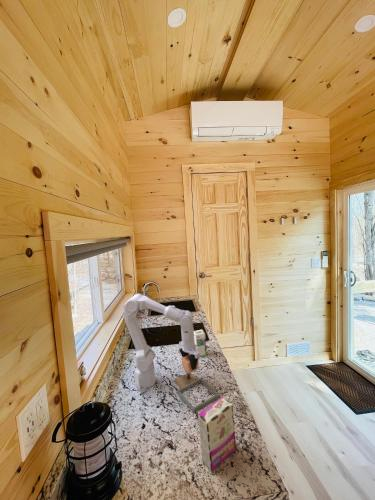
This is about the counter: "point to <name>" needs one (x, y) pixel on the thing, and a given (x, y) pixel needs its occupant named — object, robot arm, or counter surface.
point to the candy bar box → (217, 433)
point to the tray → (202, 402)
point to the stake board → (185, 380)
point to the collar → (188, 364)
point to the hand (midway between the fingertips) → (190, 365)
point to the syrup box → (200, 342)
